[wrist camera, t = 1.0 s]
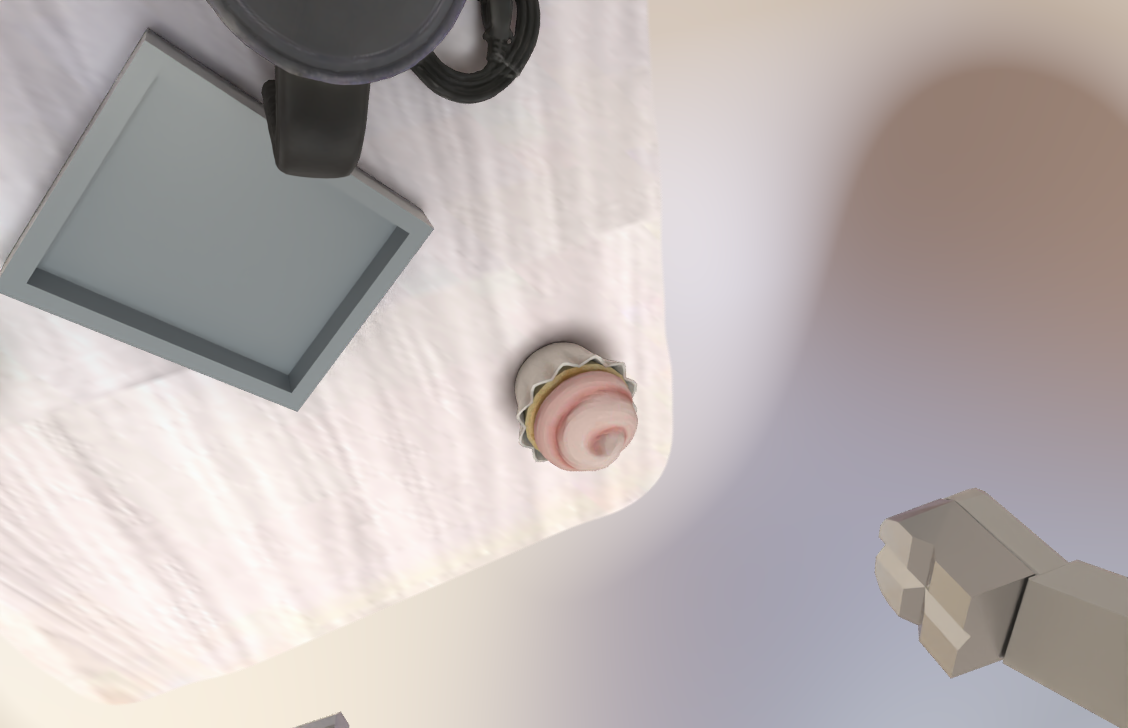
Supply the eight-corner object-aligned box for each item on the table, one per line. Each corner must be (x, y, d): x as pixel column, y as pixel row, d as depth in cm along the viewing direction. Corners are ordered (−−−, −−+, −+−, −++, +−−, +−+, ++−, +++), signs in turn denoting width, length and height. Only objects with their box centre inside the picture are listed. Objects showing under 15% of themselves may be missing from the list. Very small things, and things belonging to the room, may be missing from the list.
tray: (4, 263, 37) (-8, 289, 35) (147, 27, 34) (144, 40, 32) (292, 384, 47) (297, 411, 45) (421, 209, 44) (434, 228, 42)
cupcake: (594, 300, 53) (662, 374, 46) (619, 393, 59) (684, 472, 51) (475, 356, 52) (525, 442, 44) (514, 445, 58) (564, 535, 50)
